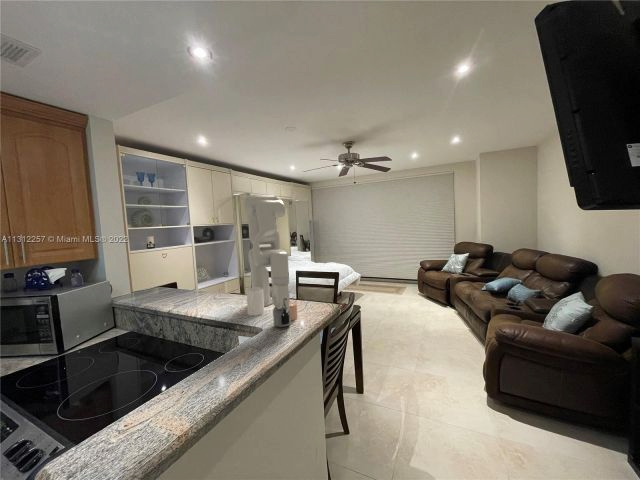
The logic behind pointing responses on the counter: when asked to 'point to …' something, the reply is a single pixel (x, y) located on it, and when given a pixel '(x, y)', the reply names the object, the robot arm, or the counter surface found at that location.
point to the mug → (255, 301)
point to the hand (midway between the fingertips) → (282, 320)
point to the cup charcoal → (279, 317)
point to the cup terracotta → (293, 310)
